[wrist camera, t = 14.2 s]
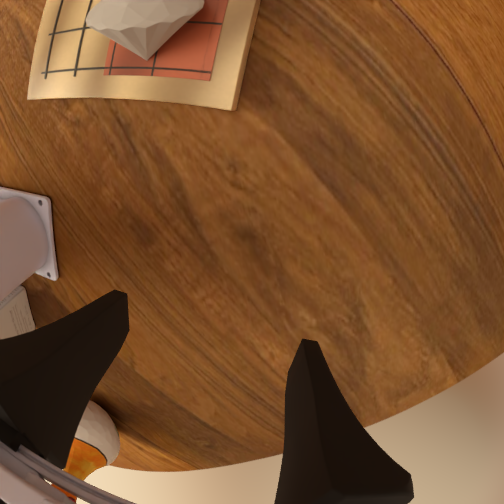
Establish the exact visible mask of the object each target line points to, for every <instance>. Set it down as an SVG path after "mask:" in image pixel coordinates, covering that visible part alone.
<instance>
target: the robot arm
mask: <svg viewBox="0 0 504 504" xmlns="http://www.w3.org/2000/svg"><path fill="white" fill-rule="evenodd" d="M41 201H42V202H41ZM33 273H36V274H39V275H41V276H44V277H46V278H48V279H51V280H54V281H56V280H57V279H58V269H57V262H56V255H55V246H54V237H53V226H52V213H51V201H50V199H49V198H48V197H46V196H41V195H37V194H32V193H28V192H23V191H18V190H14V189H9V188H5V187H0V302H1V301H2V300H3V299H4V298H5V297H7V296H8V295H9V294H10V293H11V292H12V291H13V290H14V289H16V288H17V287H18V286H19V285H20V284H21V283H23V282H24V281H25V280H26V279H27V278H29V277H30V276H31V275H32V274H33ZM128 332H129V317H128V299H127V293H124V292H121V291H117V290H113V291H111V292H109V293H107V294H106V295H104V296H102V297H100V298H99V299H97V300H95V301H93V302H92V303H90V304H88V305H86V306H84V307H83V308H81V309H79V310H77V311H75V312H73V313H71V314H69V315H67V316H65V317H64V318H62V319H60V320H58V321H55V322H53V323H51V324H49V325H46V326H44V327H41V328H39V329H36V330H33V331H30V332H27V333H24V334H20V335H17V336H14V337H10V338H5V339H0V499H2V500H3V501H4V502H5V503H7V504H76V503H75V502H73V501H72V500H71V499H69V498H68V497H67V496H66V495H65V494H64V493H63V492H61V491H60V490H58V489H56V488H55V487H53V486H52V485H50V484H49V483H47V482H46V481H45V480H44V479H46V480H47V481H49V482H51V483H53V484H54V485H56V486H58V487H59V488H61V489H63V490H65V491H67V492H68V493H70V494H72V495H74V496H76V497H78V498H80V499H82V500H84V501H86V502H88V503H90V504H135V503H133V502H130V501H128V500H125V499H122V498H120V497H117V496H115V495H112V494H110V493H108V492H106V491H103V490H101V489H99V488H97V487H95V486H92V485H90V484H88V483H86V482H84V481H82V480H80V479H78V478H76V477H74V476H72V475H71V474H69V473H67V472H65V471H63V470H62V469H64V468H66V464H67V460H68V457H69V453H70V450H71V446H72V443H73V440H74V437H75V434H76V431H77V428H78V426H79V423H80V421H81V418H82V416H83V413H84V411H85V409H86V407H87V404H88V402H89V400H90V398H91V396H92V394H93V392H94V390H95V388H96V386H97V385H98V383H99V382H100V380H101V379H102V377H103V376H104V374H105V372H106V371H107V369H108V368H109V366H110V365H111V363H112V362H113V360H114V358H115V357H116V355H117V354H118V352H119V351H120V349H121V347H122V345H123V343H124V341H125V339H126V336H127V334H128ZM413 498H414V493H413V483H412V479H411V474H410V473H408V472H407V471H406V470H405V469H403V468H402V467H401V466H400V465H399V464H397V463H396V462H395V461H394V460H393V459H392V458H391V457H390V456H389V455H387V454H386V452H385V451H383V450H382V448H380V446H379V445H378V444H377V443H376V442H375V441H374V440H373V439H372V437H371V436H370V435H369V434H368V433H367V431H366V430H365V429H364V428H363V426H362V425H361V424H360V422H359V421H358V419H357V418H356V416H355V415H354V414H353V412H352V410H351V409H350V407H349V406H348V404H347V402H346V401H345V399H344V397H343V395H342V393H341V392H340V390H339V388H338V386H337V384H336V382H335V380H334V378H333V376H332V374H331V371H330V369H329V367H328V365H327V363H326V360H325V358H324V356H323V353H322V351H321V348H320V346H319V344H318V342H317V341H313V340H307V339H302V341H301V343H300V345H299V348H298V350H297V353H296V355H295V357H294V360H293V362H292V364H291V366H290V369H289V371H288V377H287V384H286V391H285V438H284V451H283V458H282V465H281V471H280V477H279V483H278V488H277V493H276V499H275V503H274V504H408V503H409V502H410V501H411V500H412V499H413Z"/></svg>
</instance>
